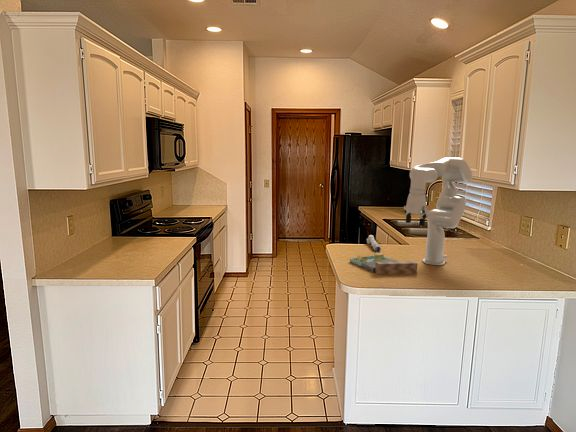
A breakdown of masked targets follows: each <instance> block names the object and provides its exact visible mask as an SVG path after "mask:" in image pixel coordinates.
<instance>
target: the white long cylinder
mask: <svg viewBox="0 0 576 432" xmlns="http://www.w3.org/2000/svg"><path fill="white" fill-rule="evenodd" d="M366 244H367V245H372V246H371V247H373V251H375V253H381V252H380V251H381V250H382V249H381V245H380V244H379V243H378V242H377V241H376V240H375V237H374V235H373V234H370V235H368V237H367V238H366Z"/></svg>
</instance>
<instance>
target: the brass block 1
mask: <svg viewBox="0 0 576 432" xmlns="http://www.w3.org/2000/svg"><path fill="white" fill-rule="evenodd" d="M367 256H368V255H365V254H360V255H357V256H356V258H357V261H358V262H361V263H365V262H367Z"/></svg>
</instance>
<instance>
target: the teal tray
mask: <svg viewBox="0 0 576 432" xmlns="http://www.w3.org/2000/svg"><path fill="white" fill-rule="evenodd" d="M366 256H367V262H372V261H375V260H374V254H373V255H366ZM387 259H391V258H389V257H387V256H384V260H387ZM349 263H351V264H353V265H355V266H358V267H360V268H362V263H361V262H358V261H357V257H352V258H349Z"/></svg>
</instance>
